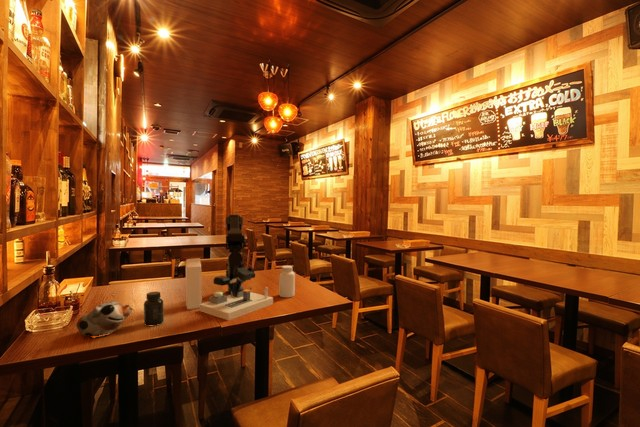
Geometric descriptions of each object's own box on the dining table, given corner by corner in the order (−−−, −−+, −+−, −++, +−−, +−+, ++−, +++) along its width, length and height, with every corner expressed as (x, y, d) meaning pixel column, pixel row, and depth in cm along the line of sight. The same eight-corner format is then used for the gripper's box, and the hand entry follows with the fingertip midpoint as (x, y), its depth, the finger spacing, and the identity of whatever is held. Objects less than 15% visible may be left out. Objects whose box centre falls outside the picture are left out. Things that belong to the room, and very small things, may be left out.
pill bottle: (292, 298, 161) (292, 268, 161) (276, 297, 163) (277, 267, 162) (296, 293, 169) (296, 265, 169) (281, 292, 171) (282, 264, 170)
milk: (201, 307, 147) (201, 259, 146) (187, 309, 144) (187, 260, 143) (199, 303, 152) (199, 257, 151) (185, 305, 149) (185, 258, 148)
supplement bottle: (141, 323, 128) (141, 293, 128) (160, 318, 133) (159, 289, 133) (147, 328, 123) (146, 296, 123) (166, 323, 128) (165, 293, 128)
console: (200, 311, 142) (199, 292, 142) (245, 296, 164) (245, 280, 163) (228, 320, 131) (228, 300, 131) (273, 303, 153) (273, 286, 152)
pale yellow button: (212, 297, 145) (212, 293, 145) (219, 295, 148) (219, 291, 148) (217, 298, 143) (217, 294, 143) (224, 296, 146) (224, 292, 146)
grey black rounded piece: (114, 321, 129) (130, 291, 129) (124, 341, 122) (141, 310, 121) (70, 322, 117) (88, 289, 117) (78, 344, 110) (97, 309, 109)
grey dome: (233, 291, 155) (233, 287, 155) (239, 289, 158) (239, 285, 158) (238, 292, 153) (238, 288, 153) (244, 290, 156) (244, 286, 156)
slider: (242, 300, 148) (242, 290, 147) (246, 298, 149) (246, 289, 149) (246, 301, 146) (246, 291, 146) (250, 299, 148) (250, 290, 148)
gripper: (230, 267, 129) (230, 305, 130) (263, 260, 145) (263, 295, 145) (212, 263, 136) (212, 300, 136) (246, 257, 151) (246, 290, 152)
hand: (235, 296), depth 142 cm, fingers closed
